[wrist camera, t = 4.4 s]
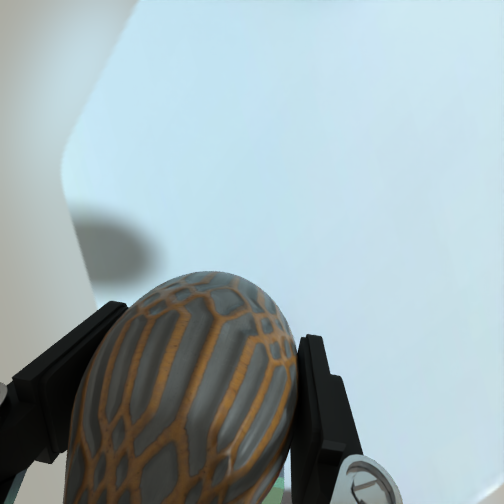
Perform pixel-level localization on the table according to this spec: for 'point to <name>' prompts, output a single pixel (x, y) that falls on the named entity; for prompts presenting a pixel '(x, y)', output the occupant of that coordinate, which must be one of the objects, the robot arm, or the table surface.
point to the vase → (186, 399)
